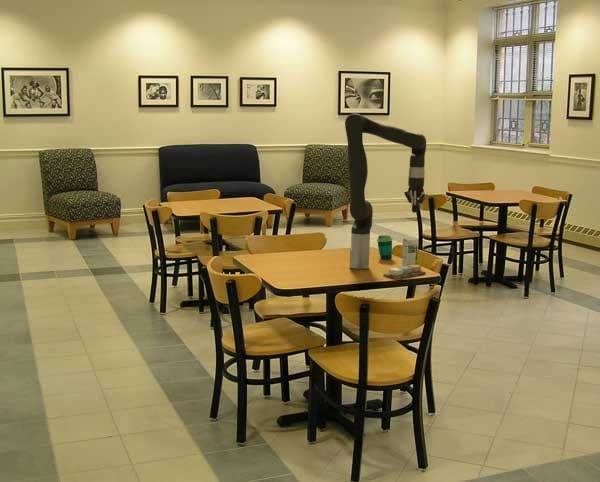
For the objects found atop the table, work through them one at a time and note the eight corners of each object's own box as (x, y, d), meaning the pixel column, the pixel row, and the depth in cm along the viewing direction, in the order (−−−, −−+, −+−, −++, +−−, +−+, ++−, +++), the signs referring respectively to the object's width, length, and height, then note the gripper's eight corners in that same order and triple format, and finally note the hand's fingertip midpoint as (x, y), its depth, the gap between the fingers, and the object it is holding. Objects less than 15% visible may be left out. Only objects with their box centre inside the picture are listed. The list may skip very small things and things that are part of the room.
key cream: (395, 278, 375) (396, 270, 374) (388, 276, 378) (388, 268, 378) (402, 276, 378) (403, 269, 377) (395, 275, 382) (395, 267, 381)
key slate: (405, 276, 379) (405, 268, 378) (397, 274, 383) (397, 267, 382) (411, 275, 382) (412, 267, 382) (404, 273, 386) (404, 266, 385)
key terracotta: (414, 274, 383) (414, 267, 383) (406, 272, 387) (406, 265, 386) (420, 273, 386) (421, 266, 386) (413, 271, 390) (413, 264, 389)
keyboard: (397, 279, 373) (397, 277, 372) (383, 276, 379) (383, 273, 379) (425, 274, 386) (425, 271, 385) (411, 271, 392) (411, 268, 392)
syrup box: (406, 268, 399) (407, 239, 396) (401, 265, 405) (402, 237, 402) (416, 267, 401) (418, 239, 398) (412, 265, 406) (413, 236, 404)
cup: (391, 260, 416) (391, 238, 414) (375, 260, 417) (376, 237, 415) (392, 258, 424) (393, 235, 422) (377, 257, 425) (377, 234, 423)
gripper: (432, 177, 381) (430, 213, 384) (411, 174, 391) (409, 210, 394) (422, 178, 376) (420, 214, 379) (400, 175, 386) (399, 211, 389)
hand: (414, 212), depth 387 cm, fingers closed
